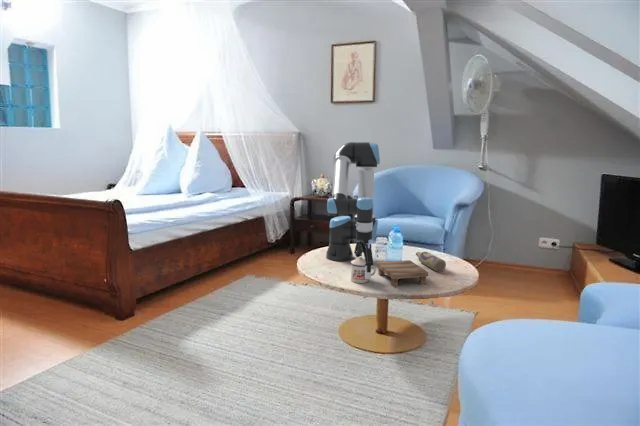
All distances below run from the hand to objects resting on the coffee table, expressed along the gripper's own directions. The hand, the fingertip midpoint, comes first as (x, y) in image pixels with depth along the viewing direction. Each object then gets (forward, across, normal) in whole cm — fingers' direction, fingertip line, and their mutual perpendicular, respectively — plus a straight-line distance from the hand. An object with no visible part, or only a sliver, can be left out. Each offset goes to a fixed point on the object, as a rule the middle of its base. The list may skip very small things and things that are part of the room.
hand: (362, 273), depth 206 cm
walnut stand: (+3, +2, +19) cm, 19 cm away
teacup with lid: (+4, 0, 0) cm, 4 cm away
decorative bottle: (+4, -16, +44) cm, 47 cm away
